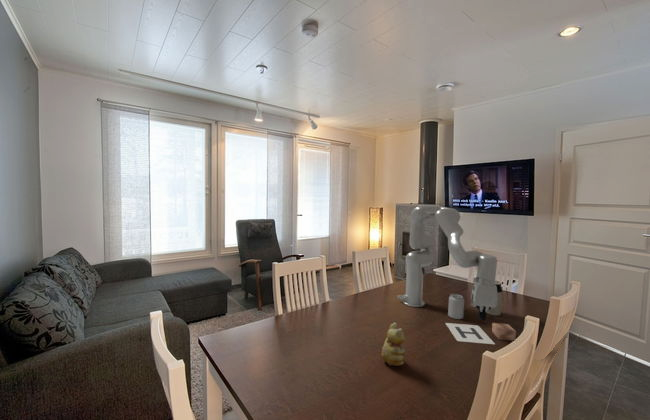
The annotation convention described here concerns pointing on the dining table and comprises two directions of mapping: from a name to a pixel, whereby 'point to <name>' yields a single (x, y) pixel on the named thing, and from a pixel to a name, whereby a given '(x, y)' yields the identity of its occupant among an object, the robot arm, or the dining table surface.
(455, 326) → the letter card
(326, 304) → the dining table surface
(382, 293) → the dining table surface
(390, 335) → the decorative figurine
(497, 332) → the brown block
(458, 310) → the can
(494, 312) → the travel mug
